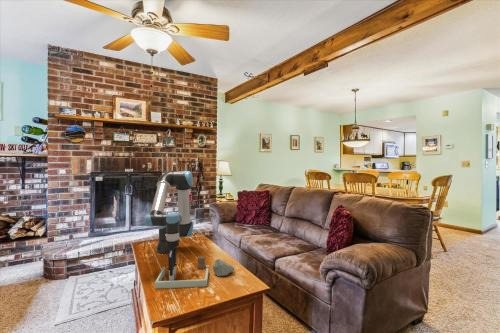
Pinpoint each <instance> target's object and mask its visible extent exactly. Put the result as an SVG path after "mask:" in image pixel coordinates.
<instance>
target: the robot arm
mask: <svg viewBox="0 0 500 333" xmlns="http://www.w3.org/2000/svg"><path fill="white" fill-rule="evenodd" d="M193 186H194V177H193V174H192V172H191V171H190V170H169V171H166V172H164V173H162V175H161V176H160V177H159V178H158V180H157V182H156V187H157V188H156V191H155V194H154V197H153V203H152V206H151V210H150V213H148V214H146V215H145V216H144V225H145V226H146V227H152V228H153V227H158V241H157V242H158V243H157V245H156V248H155V249H156V250H155V251H156V253H158V254H162V255H163V254H167V257H168V259H167V260H168V262H167V263H168V264H167V265H168V268H167V271H168V281H175V280H174V266H178V264H177V248H178V247H179V246H180V238H189V237H192V235H193V231H194V223H195V222H194V221H193V220H192V218H191V216H190V214H191V212H190V207H191V206H190V190H191V189H192V187H193ZM171 187H175V190H176V191H177V209H178V212H175V213H174V212H172V213H164V210H165V205H166V200H167V197H168V196H167V195H168V192H169V189H171Z"/></svg>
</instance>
